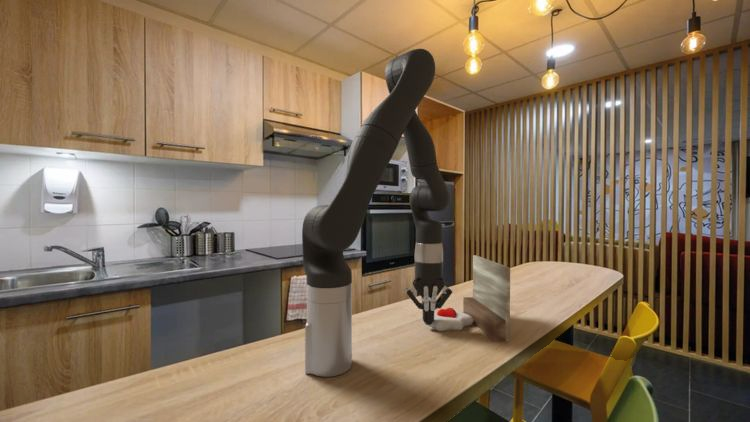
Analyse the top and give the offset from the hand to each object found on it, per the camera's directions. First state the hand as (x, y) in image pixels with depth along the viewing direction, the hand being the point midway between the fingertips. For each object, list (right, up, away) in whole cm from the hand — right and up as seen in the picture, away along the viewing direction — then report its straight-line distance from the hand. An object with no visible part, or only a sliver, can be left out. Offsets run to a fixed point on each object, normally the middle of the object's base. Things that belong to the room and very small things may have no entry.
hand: (428, 323), depth 84 cm
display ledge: (+15, -2, +2) cm, 16 cm away
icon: (+7, -2, +3) cm, 8 cm away
